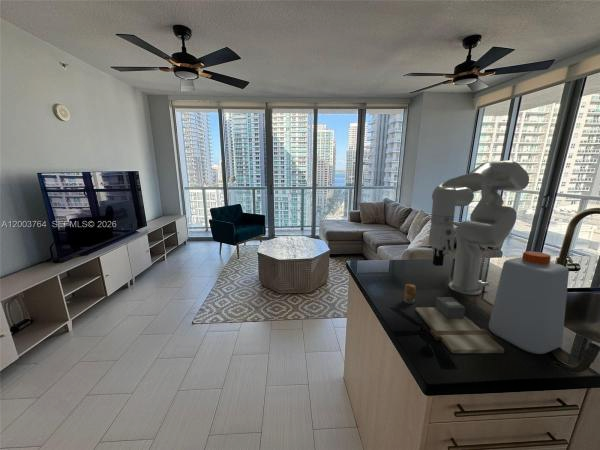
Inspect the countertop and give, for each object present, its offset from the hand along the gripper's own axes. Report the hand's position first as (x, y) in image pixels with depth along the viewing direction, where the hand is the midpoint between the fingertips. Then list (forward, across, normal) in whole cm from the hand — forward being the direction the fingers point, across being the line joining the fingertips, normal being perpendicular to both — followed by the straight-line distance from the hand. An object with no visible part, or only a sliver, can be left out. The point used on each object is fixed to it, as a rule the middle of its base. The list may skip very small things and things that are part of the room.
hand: (437, 265), depth 99 cm
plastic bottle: (+16, -23, -16) cm, 33 cm away
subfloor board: (+16, -18, +3) cm, 24 cm away
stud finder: (+15, -10, 0) cm, 18 cm away
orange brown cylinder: (+16, +1, +10) cm, 19 cm away
